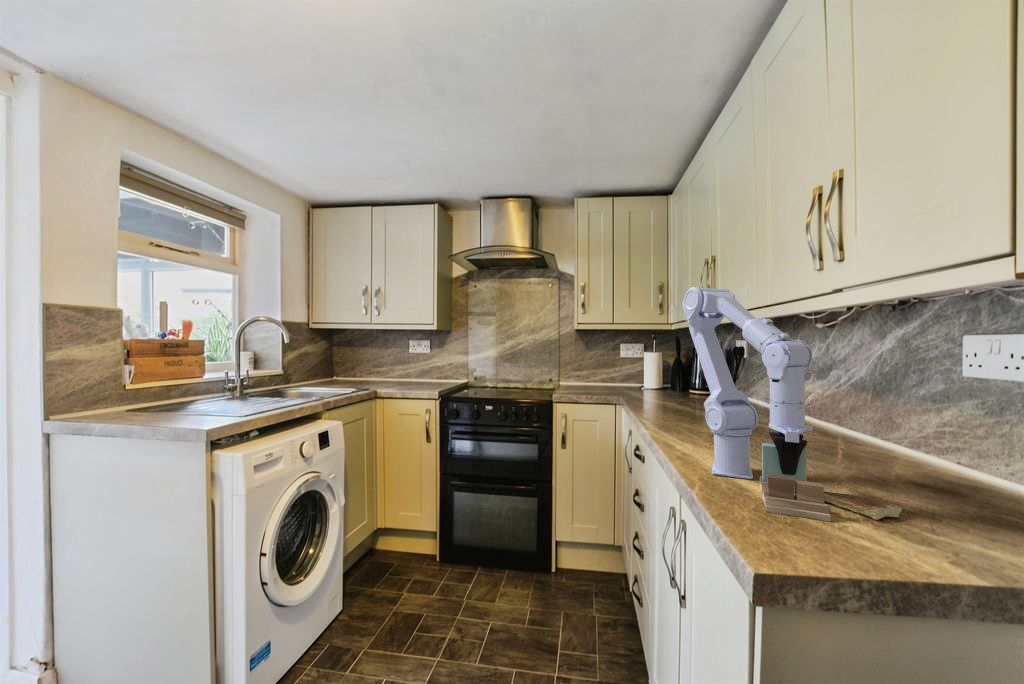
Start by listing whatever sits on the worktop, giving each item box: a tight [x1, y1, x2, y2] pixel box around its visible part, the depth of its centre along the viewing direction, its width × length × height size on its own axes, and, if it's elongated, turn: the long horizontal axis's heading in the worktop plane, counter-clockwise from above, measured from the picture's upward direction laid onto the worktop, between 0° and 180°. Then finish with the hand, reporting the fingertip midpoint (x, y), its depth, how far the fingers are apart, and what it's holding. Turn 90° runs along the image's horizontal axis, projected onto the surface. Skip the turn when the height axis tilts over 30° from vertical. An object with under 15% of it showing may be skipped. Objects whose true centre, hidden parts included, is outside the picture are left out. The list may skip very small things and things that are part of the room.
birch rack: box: [759, 475, 831, 523], centre depth 76 cm, size 15×9×2 cm, turn 153°
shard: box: [824, 491, 903, 521], centre depth 74 cm, size 11×8×2 cm
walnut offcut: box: [767, 474, 794, 500], centre depth 73 cm, size 2×4×4 cm, turn 63°
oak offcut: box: [795, 480, 825, 504], centre depth 71 cm, size 2×4×4 cm, turn 63°
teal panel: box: [761, 442, 808, 485], centre depth 81 cm, size 2×7×7 cm, turn 63°
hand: (787, 472), depth 80 cm, fingers closed on teal panel, 2 cm apart
